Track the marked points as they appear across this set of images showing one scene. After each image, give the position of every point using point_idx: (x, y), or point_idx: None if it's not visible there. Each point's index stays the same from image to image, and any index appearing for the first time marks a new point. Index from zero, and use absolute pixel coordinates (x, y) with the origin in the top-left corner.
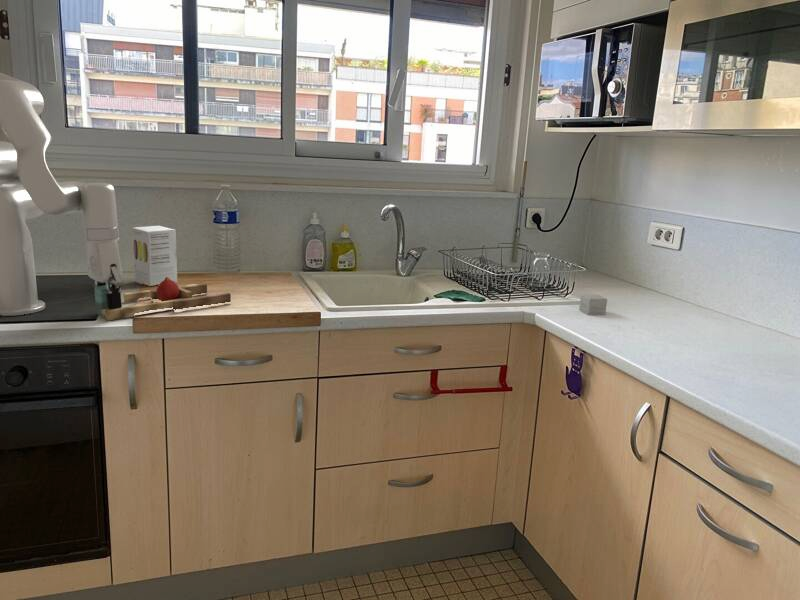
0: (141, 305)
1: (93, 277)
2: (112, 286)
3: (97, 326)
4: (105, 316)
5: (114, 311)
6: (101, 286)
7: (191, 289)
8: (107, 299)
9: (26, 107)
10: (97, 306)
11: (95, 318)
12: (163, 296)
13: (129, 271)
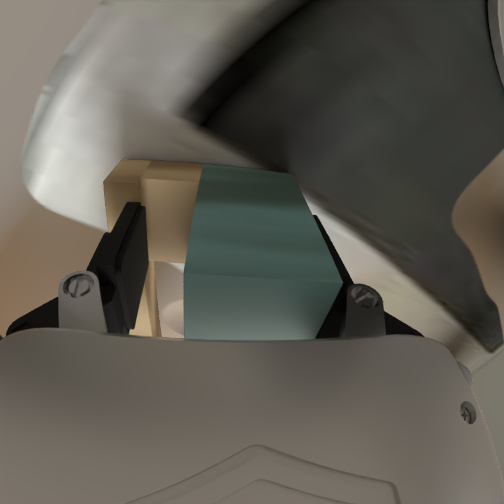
0: (135, 326)
1: (297, 364)
2: (10, 328)
3: (74, 85)
4: (153, 165)
5: (108, 212)
6: (299, 318)
7: None
8: (114, 235)
9: None
10: (274, 191)
11: (221, 132)
12: None
13: (481, 368)
